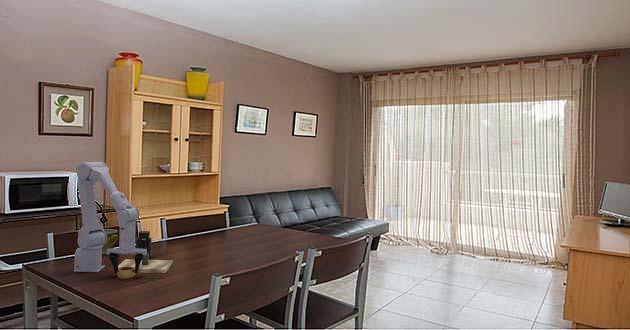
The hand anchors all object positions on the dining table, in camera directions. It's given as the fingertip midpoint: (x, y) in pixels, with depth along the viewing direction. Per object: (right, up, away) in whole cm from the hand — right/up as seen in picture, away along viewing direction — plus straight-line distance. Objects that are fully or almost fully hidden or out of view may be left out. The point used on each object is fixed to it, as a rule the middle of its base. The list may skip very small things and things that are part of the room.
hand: (126, 272), depth 173 cm
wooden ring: (0, -2, 0) cm, 2 cm away
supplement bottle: (-4, 0, +28) cm, 28 cm away
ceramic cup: (-23, +1, +33) cm, 40 cm away
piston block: (+2, -1, +12) cm, 13 cm away
